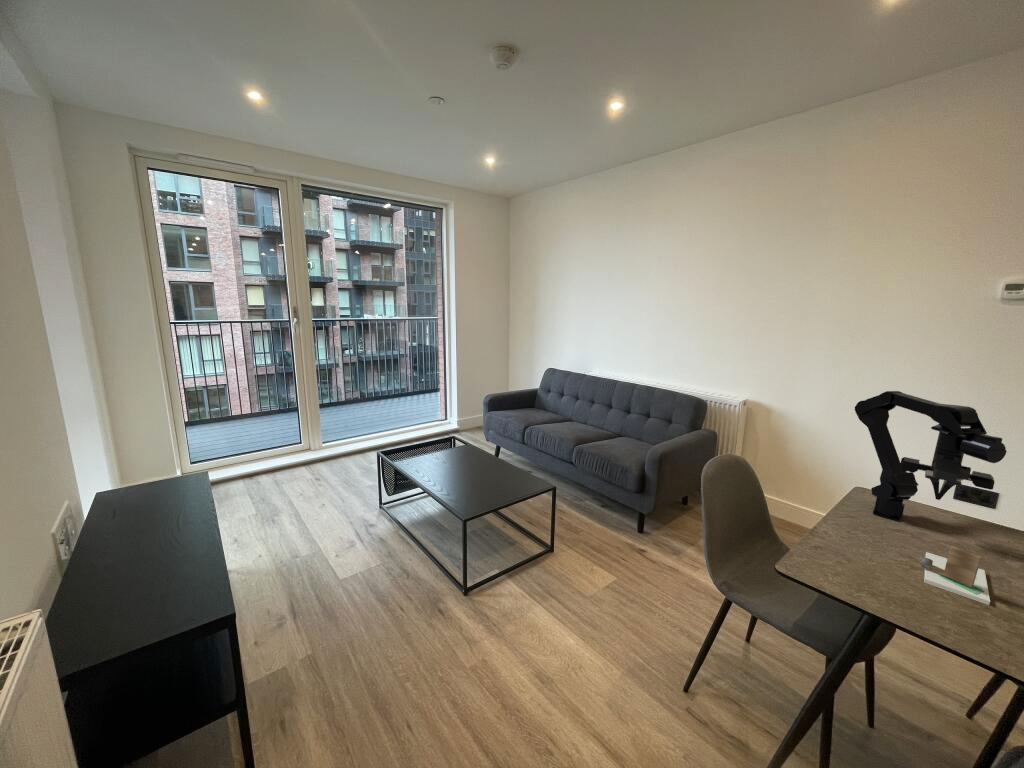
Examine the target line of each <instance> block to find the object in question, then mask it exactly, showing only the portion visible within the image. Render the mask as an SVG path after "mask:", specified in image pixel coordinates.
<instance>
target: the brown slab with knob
mask: <svg viewBox="0 0 1024 768" xmlns="http://www.w3.org/2000/svg"><path fill="white" fill-rule="evenodd" d="M981 560H982V556H980V555H977V554H975V553H973V552H969V551H967V550H965V549H962V548H959V547H956V546H954V545H951V546H950V548H949V552H948V556H947V562H946V566H945V570H943V569H941V568H939V567H936V566H934V565H932V563H933V561H932V560H931V559H929V558H925V556H924V557H923V556H922V558H921V561H920V567H922V568H924V569H925V568H926V569H930V570H932V571H935V572H937V573H939V574H942V575H943V576H946V577H948V578H950V579H952V580H955V581H957V582H959V583H962V584H964V585H966V586H968V587H971V588H975V589H977V590H979V591H982V592H985V591H983V590H981V589H978V588H976V587H974V586H973V585H974V582H975V578H976V575H977V571H978V568H979V567H980V563H981ZM979 569H980V568H979Z"/></svg>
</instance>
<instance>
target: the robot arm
mask: <svg viewBox="0 0 1024 768" xmlns="http://www.w3.org/2000/svg"><path fill="white" fill-rule="evenodd" d="M896 407H900V408H903V409H907V410H909V411H913V412H916V413H918V414H922V415H925V416H927V417H930V419H931V420H932V421H934V422H936V423H937V424H936V425H933V426H931V427H930V429H931V430H933V431H937V432H939V433H938V436H937V441H936V445H935V449H934V451H933V453H934V454H933V457H932V461H931V465H929V464H924V463H920V459H918V458H917V459H915V458H912V457H906V456H903V457H902V458H901V459H900V457H899V455H898V452H897V448H896V446H895V444H894V441H893V439H892V435H891V433H890V431H889V427H888V421H889V419H890V413H889V412H890V411H892V410H894V409H895V408H896ZM854 411H855V412H854V413H855V414H856V415H857V418H858V419H859V421H860V422H861V423H862V424H863V425H865V426H866V428H867V429H868V432H869V434H870V438H871V441H872V444H873V446H874V451H875V453H876V456H877V458H878V461H879V464H880V466H881V469H882V470H881V473H880V477H879V482H880V484H878V485H874V486H873V487H871V488H870V489H871V494H872V496H875V497H876V498H875V504H874V508H873V510H872V514H873V515H874V516H875V515H876V516H879V517H883V518H885V519H889V520H893V521H895V522H900V519H903V516H904V510H905V503H903V502H904V500H906V501H909V500H910V499H911V497H914V496H915V495H916V493H917V492H919V491H918V486H919V484H918V482H917V480H916V477H915V473H916V472H918V471H923V472H925V473H924V478H926V479H928V480H930V482H931V485H932V488H933V491H934V498H935V500H937V501H940V500H941V499H942V498H943V497H944V496H945V495H946V493H947V492H948V491H949V490H950V489H952V488H953V487H955V486H962V482H963V480H965V481H969V482H972V484H973V485H974V486H975V487H976V488H983V489H987V490H989V491H990V490H993V489H994V485H995V479H994V476H993V475H992V474H990V473H985V472H981V471H975V470H972V469H971V468H972V467H970V466H965V465H962V464H963V460H964V456H965V455H966V456H970V457H971V458H975V459H979V460H982V461H985V462H987V463H990V464H996V463H999V462H1001V461H1002V460H1003V459H1004V457H1006V454H1007V450H1006V445H1005V444H1004V443H1003V438H1002V437H998V436H994V435H993V436H991V435H988V434H987V433H988V432H987V429H985V427H984V425H983V423H982V422H981V420H980V417H979V413H978V412H977V409H975V408H974V407H971V406H966V405H956V404H948V403H947V404H946V403H939V402H935V401H932V400H928V399H926V398H925V399H924V398H922V397H918V396H914V395H911V394H907V393H905V392H901V390H900V391H899V390H887V391H884V392H882V393H880V394H878V395H875V396H872V397H870V398H867V399H864V400H860V401H858V402H857V403H856V405H855V406H854ZM971 471H972V472H971ZM940 480H942V481H943V483H942V484H941V487H940Z"/></svg>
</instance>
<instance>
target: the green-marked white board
mask: <svg viewBox="0 0 1024 768" xmlns="http://www.w3.org/2000/svg"><path fill="white" fill-rule="evenodd" d="M924 557H925V558H929V559H931V560H932V561H933V563H932V565H934V566H936V567H939V568H941V569H943V570H945V566H946V562H947V558H948V557H947V558H946V557H944V556H940V555H937V554H933V553H931V552H927V551H926V552H925V555H924ZM923 579H924V581H923V583H924V584H928V585H931V586H933V587H936V588H940V589H942V590H944V591H947V592H951V593H953V594H956V595H959V596H962V597H965V598H967V599H971V600H973V601H976V602H979V603H982V604H984V605H987V606H990V603H991V599H990V594H989V587H988V582H987V577H986V572H985V569H981V568H978V571H977V575H976V578H975V582H974V585H973V586H974V587H976V588H978V589H981V590H983V591H985V592H982V591H979V590H977V589H975V588H971V587H968V586H966V585H964V584H962V583H959V582H957V581H955V580H952V579H950V578H948V577H946V576H943V575H942V574H939V573H937V572H935V571H932V570H930V569H926V568H924V578H923Z"/></svg>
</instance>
